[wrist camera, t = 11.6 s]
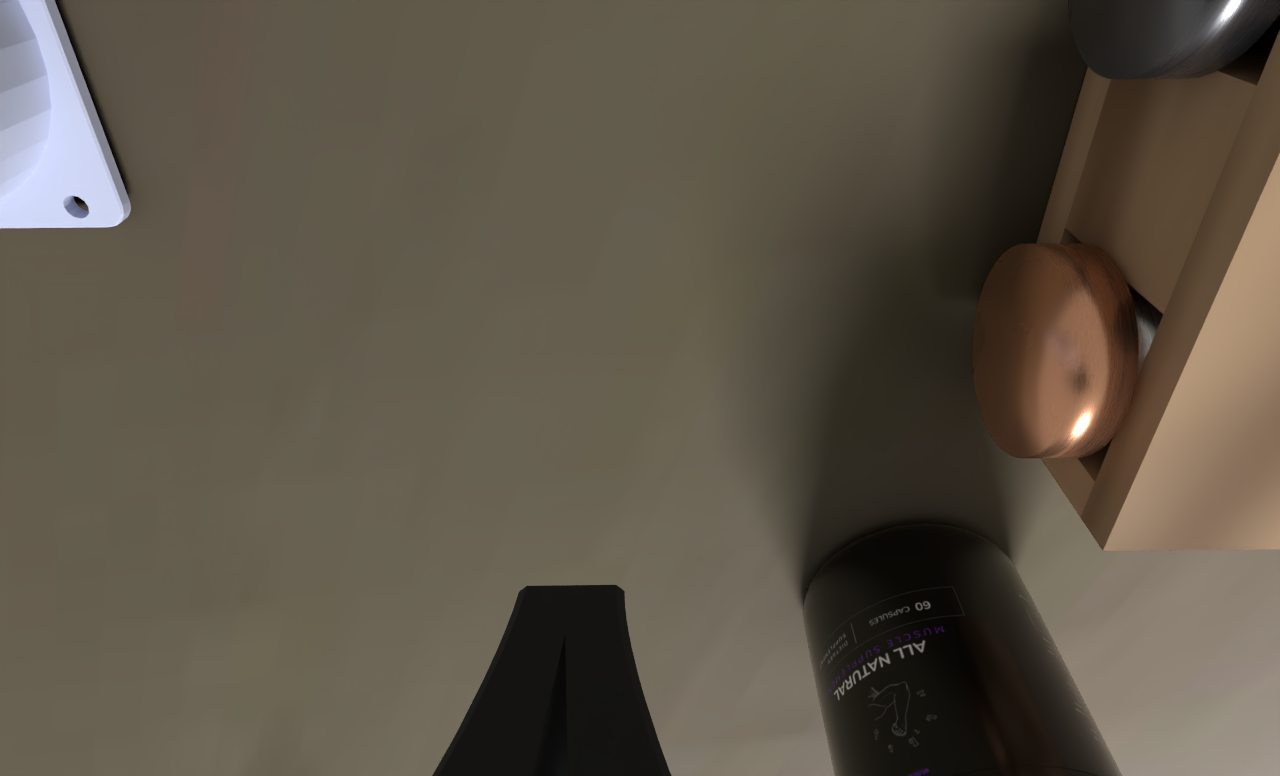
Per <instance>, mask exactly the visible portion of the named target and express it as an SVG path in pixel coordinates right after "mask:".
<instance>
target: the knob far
mask: <svg viewBox="0 0 1280 776" xmlns="http://www.w3.org/2000/svg"><path fill="white" fill-rule="evenodd" d="M1162 317H1163V313H1161V312H1160V311H1159V310H1158V309H1157V308H1156V307H1155V306H1154V305H1152V304H1151V303H1150V302H1149V301H1148V300H1147V299H1146V298H1144V297H1143V296H1142V295H1141V294H1140V293H1139V292H1138V291H1136V290H1135V289H1134V288H1133V287H1132V286H1131V285H1129V286H1128V285H1127V283H1126V280H1125V278H1124V276H1123V275H1122V273H1121V271H1120V269H1119V268H1118V266H1117V265H1116V263H1115V262H1114V261H1113V259H1112V258H1111V257H1110V256H1109V255H1108V254H1107V253H1105V252H1104V251H1103V250H1101V249H1100V248H1098V247H1096V246H1093V245H1091V244H1085V243H1036V244H1019V245H1016V246H1013V247H1011V248H1010V249H1008V250H1007V251H1006V252H1005V253H1004V254H1003V255H1001V256H1000V258H999V259H998V260H997V262H996V263H995V264H994V266H993V268H992V269H991V271H990V273H989V275H988V277H987V279H986V281H985V284H984V287H983V289H982V292H981V295H980V299H979V302H978V307H977V311H976V317H975V323H974V331H973V346H972V363H973V376H974V385H975V390H976V396H977V400H978V404H979V408H980V411H981V414H982V417H983V420H984V422H985V425H986V427H987V429H988V431H989V433H990V434H991V436H992V438H993V439H994V441H995V442H996V443H997V444H998V446H999V447H1000V448H1001V449H1002V450H1004V451H1005V452H1006V453H1007V454H1009V455H1011V456H1014V457H1018V458H1078V457H1086V456H1089V455H1092V454H1094V453H1096V452H1097V451H1099V450H1101V449H1102V448H1103V447H1104V446H1105V445H1106V444H1108V442H1109V441H1110V440H1111V439H1112V438H1113V436H1114V435H1115V434H1116V432H1117V430H1118V429H1119V427H1120V426H1121V424H1122V422H1123V420H1124V417H1125V415H1126V413H1127V410H1128V408H1129V405H1130V402H1131V399H1132V395H1133V391H1134V387H1135V383H1136V380H1137V378H1138V375H1139V373H1140V370H1141V368H1142V366H1143V363H1144V361H1145V358H1146V356H1147V353H1148V351H1149V348H1150V346H1151V344H1152V341H1153V339H1154V336H1155V334H1156V331H1157V329H1158V326H1159V324H1160V322H1161V319H1162Z"/></svg>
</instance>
